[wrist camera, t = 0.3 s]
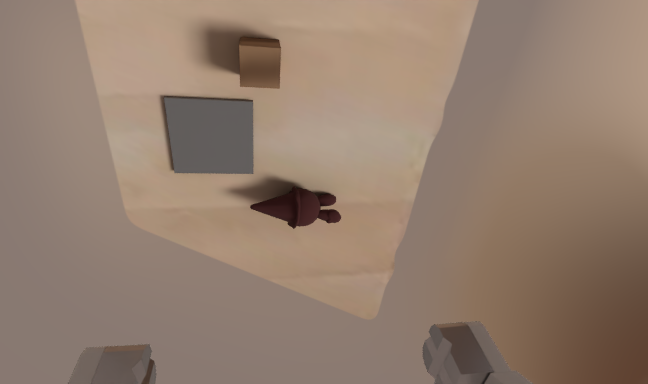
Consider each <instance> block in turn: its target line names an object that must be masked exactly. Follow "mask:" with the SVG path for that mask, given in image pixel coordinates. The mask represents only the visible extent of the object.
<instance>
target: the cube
mask: <svg viewBox="0 0 648 384" xmlns="http://www.w3.org/2000/svg"><path fill="white" fill-rule="evenodd" d="M280 59H281V47H280V42H279V40H274V39H261V38H247V37H241V38H240V43H239V60H240V87H259V88H278V89H280Z"/></svg>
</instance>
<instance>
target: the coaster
mask: <svg viewBox="0 0 648 384" xmlns="http://www.w3.org/2000/svg"><path fill="white" fill-rule="evenodd" d="M164 102H165V109H166V116H167V123H168V130H169V137H170V144H171V151H172V158H173V165H174V172H175V173H226V174H253V100H234V99H212V98H190V97H168V96H165V97H164Z"/></svg>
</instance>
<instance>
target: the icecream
mask: <svg viewBox="0 0 648 384" xmlns="http://www.w3.org/2000/svg"><path fill="white" fill-rule="evenodd" d="M335 202H336V197H335V196H334V195H330V194H325V195H321V196H318V197H317V196H316V195H315V194H314V193H313V192H311V191H309V190H307V189H301V188H299V189H296V187H295V186H293V188H292V190H291V191H290V193H289V194H286V195H282V196H279V197H276V198H273V199H270V200H266V201H263V202H260V203H256V204H253V205H251V207H250V208H251V209H253V210H256V211H259V212H262V213H264V214H267V215H270V216H273V217H276V218H279V219H281V220H284V221H287V222H288V225H289V226H291V227H292V228H293V229H294V228H295V227H296V226H307V225H309V224H311V223H313V222H314V221H315V220H316V219H317V218H319V219H321V220H325V221H326V222H327V223H336V222H339V221H340V219H341V215H340V214H339V212H337V211H336V210H332V209H330V210H320V206H330V205H333V204H334V203H335Z"/></svg>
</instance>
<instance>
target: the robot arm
mask: <svg viewBox="0 0 648 384" xmlns="http://www.w3.org/2000/svg"><path fill="white" fill-rule="evenodd" d="M429 333H430V336H431V337H429V338H428V339H427V340H425V343H424V345H423V359H424V363H425V366H426V369H427V372H428V373H429V374H430V375H432V376H433V377H434V378H435V382H434V384H533V383H531V382H530V381H529V380H527V379H526V378H525V377H523V376H522V375H521V374H520V373H518V372H517V371H511V369H510V368H509V366H508V365H507V363H506V361H505V360H504V358H503V356H502V355H501V353H500V351H499V350H498V348H497V346H496V345H495V343H494V341H493V340H492V338H491V337H490V335H489V333H488V331H487V330H486V328H485V326H484V325H483V324H482V323H481V322H477V321H475V322H458V323H446V324H434V325H433V326H431V328H430V330H429ZM151 352H152V350H151V347H150V344H144V345H143V344H142V345H125V346H104V347H89V348H86V349H85V350H84V351H83V352H82V354H81V355H80V357H79V360H78V362H77V364H76V366H75V369H74V371H73V374H72V376H71V378H70V380H69V382H68V384H155V381H156V365H155V362H154V360H152V359H150V357H151Z"/></svg>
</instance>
